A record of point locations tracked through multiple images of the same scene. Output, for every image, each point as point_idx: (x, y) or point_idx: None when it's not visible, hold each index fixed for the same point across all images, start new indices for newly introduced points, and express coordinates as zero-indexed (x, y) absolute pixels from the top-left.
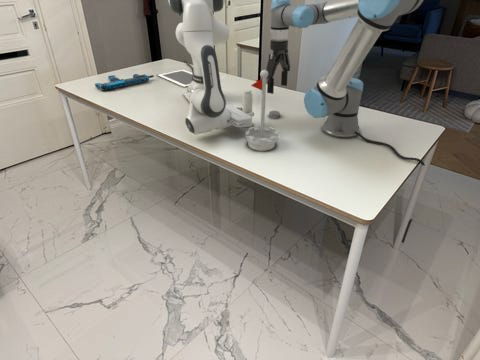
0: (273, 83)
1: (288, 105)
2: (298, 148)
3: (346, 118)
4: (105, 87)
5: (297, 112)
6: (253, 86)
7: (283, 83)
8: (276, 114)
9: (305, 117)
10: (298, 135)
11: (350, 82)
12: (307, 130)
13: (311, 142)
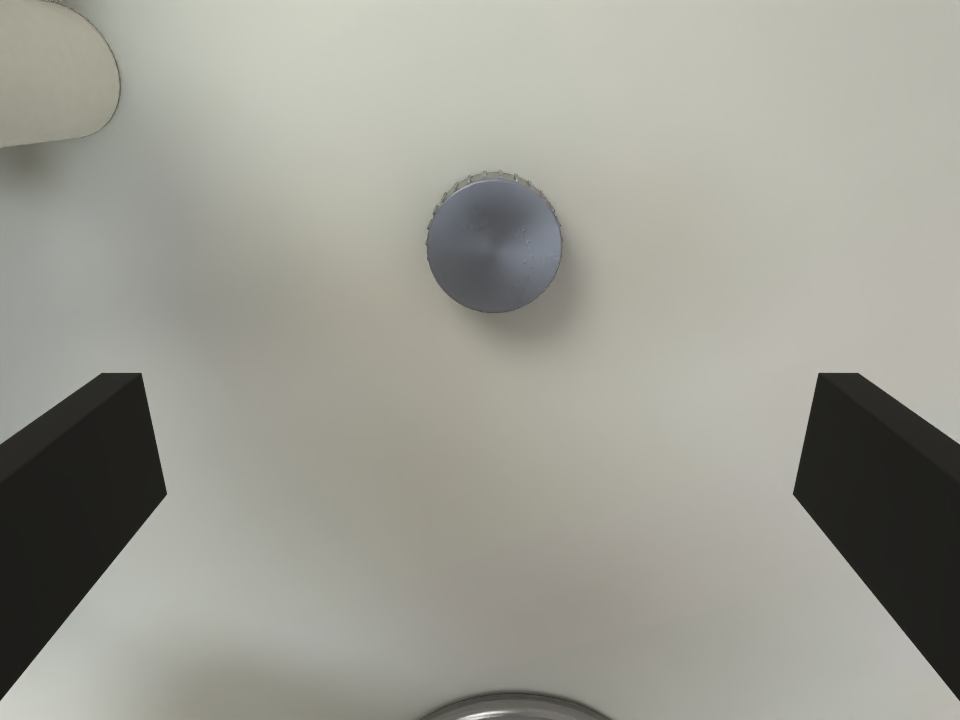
0: (8, 669)
1: (941, 219)
2: (45, 669)
3: None
4: None
5: (742, 403)
6: None
7: (830, 455)
8: (452, 297)
9: (641, 515)
10: (235, 600)
11: None
12: (370, 620)
13: (196, 702)
